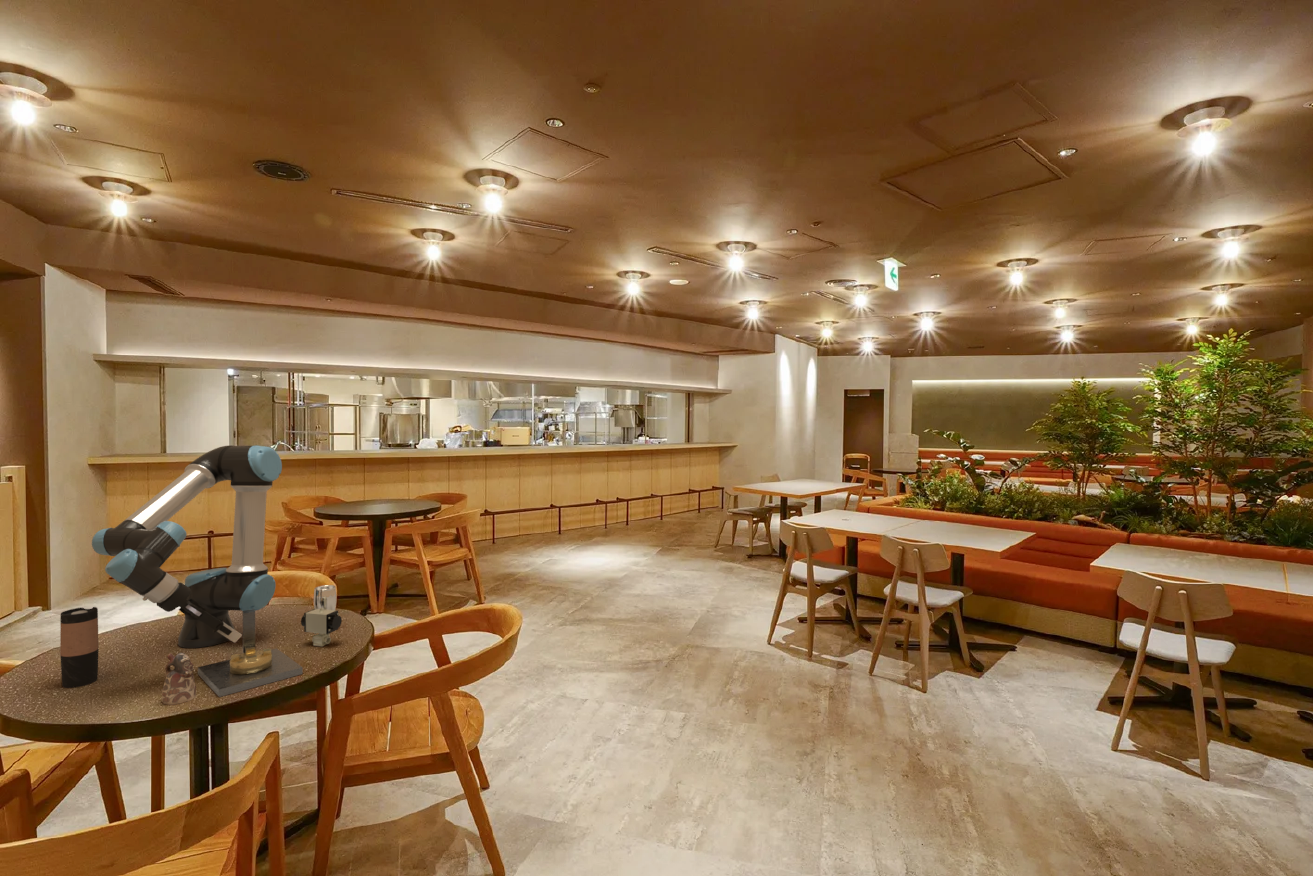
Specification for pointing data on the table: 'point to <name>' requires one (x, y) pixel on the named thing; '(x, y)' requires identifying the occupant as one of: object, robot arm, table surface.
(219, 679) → the base plate
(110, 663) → the table surface
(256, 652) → the metal fixture
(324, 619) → the pneumatic valve
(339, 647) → the table surface
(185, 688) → the figurine
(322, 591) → the beer glass
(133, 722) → the table surface
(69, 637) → the travel mug
